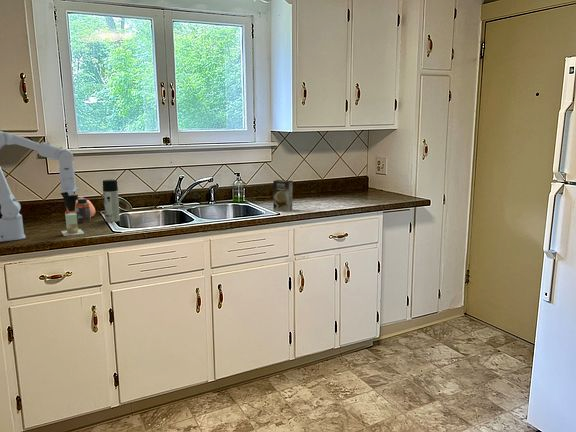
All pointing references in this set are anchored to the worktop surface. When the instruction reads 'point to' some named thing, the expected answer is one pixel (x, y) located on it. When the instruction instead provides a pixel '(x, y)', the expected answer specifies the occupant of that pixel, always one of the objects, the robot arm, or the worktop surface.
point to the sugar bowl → (92, 209)
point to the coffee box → (282, 195)
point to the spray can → (111, 200)
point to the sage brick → (71, 218)
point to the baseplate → (72, 233)
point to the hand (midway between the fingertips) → (70, 209)
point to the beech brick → (72, 228)
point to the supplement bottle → (83, 210)
